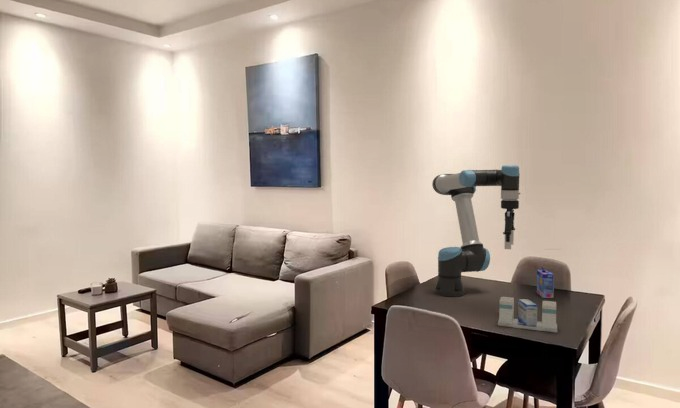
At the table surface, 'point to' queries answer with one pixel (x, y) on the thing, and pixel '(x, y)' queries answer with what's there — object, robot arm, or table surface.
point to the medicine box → (527, 312)
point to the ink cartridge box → (545, 283)
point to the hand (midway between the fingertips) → (509, 246)
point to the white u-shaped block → (508, 320)
